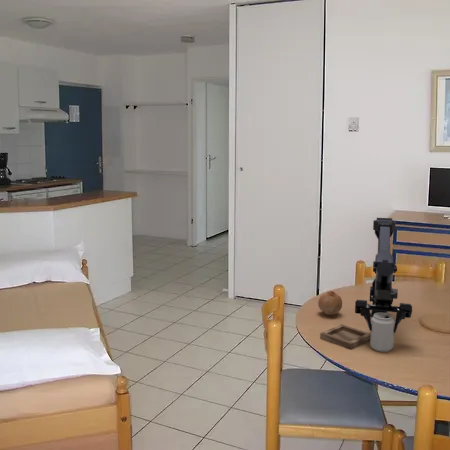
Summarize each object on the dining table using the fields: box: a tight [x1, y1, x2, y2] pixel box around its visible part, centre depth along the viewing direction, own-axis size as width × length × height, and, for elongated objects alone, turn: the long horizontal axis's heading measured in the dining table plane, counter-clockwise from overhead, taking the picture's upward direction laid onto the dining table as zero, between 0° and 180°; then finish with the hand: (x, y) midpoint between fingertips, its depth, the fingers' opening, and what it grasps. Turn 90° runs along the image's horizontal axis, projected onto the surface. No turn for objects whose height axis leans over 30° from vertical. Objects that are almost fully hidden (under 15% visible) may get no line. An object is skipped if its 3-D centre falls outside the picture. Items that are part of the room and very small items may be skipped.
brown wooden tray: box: [319, 323, 371, 350], centre depth 194 cm, size 13×13×2 cm
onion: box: [317, 290, 343, 316], centre depth 217 cm, size 10×9×10 cm
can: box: [369, 312, 395, 353], centre depth 185 cm, size 8×8×12 cm
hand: (382, 331), depth 183 cm, fingers closed on can, 7 cm apart
